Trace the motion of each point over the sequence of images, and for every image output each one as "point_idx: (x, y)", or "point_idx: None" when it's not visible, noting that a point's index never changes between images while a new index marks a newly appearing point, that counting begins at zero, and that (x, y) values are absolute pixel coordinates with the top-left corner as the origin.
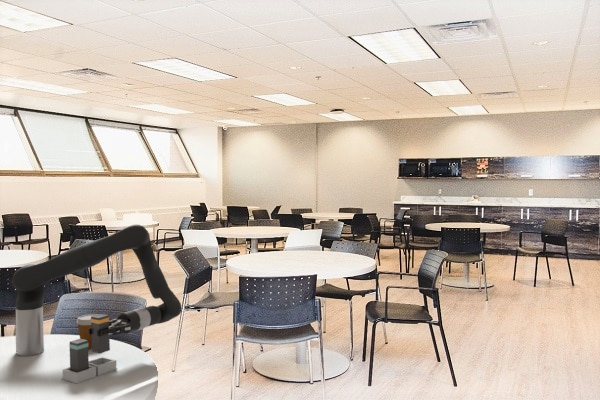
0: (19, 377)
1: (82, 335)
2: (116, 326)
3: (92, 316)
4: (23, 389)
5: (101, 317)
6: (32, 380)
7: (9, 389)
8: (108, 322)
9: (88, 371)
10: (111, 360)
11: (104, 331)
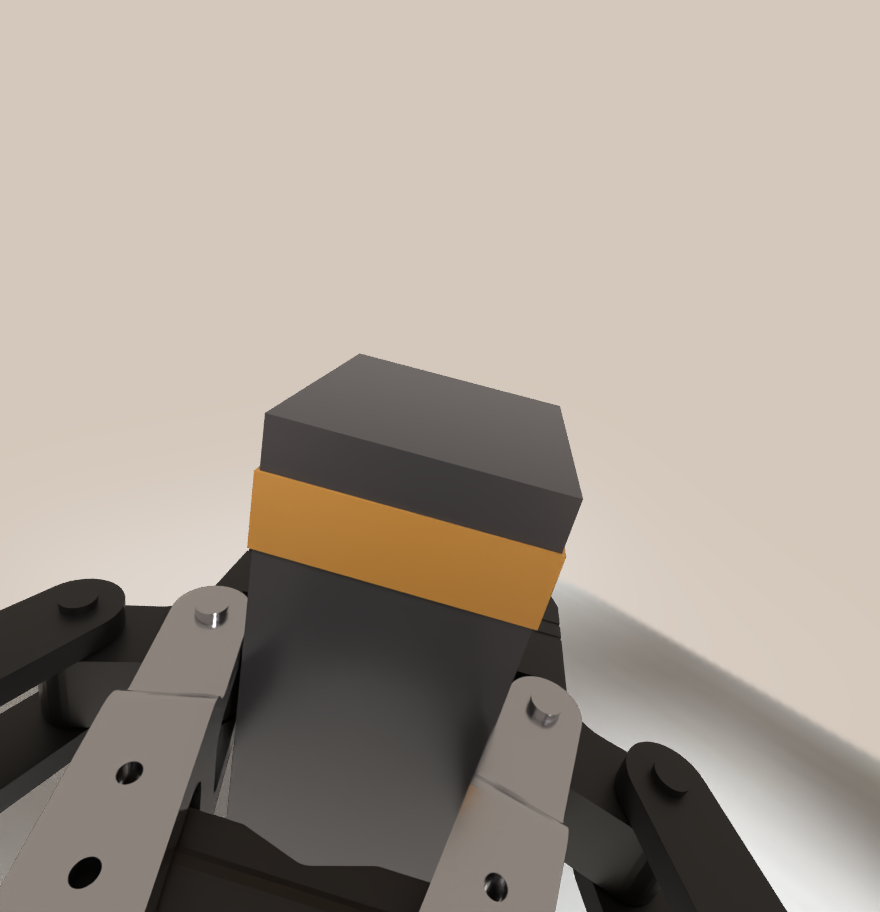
0: (740, 722)
1: None
2: (31, 650)
3: (532, 401)
4: None
5: (339, 370)
6: (638, 703)
7: (600, 607)
8: (257, 566)
9: None
10: None
11: (248, 560)
